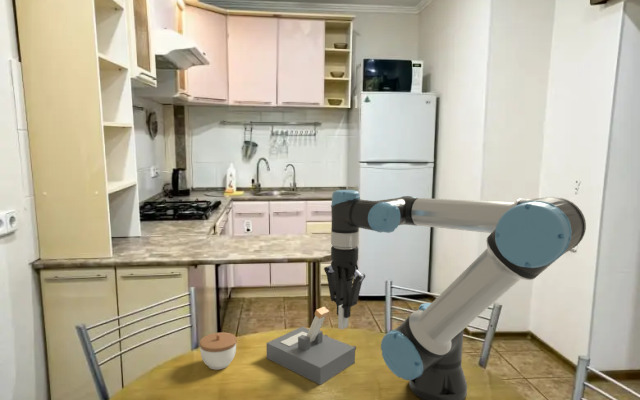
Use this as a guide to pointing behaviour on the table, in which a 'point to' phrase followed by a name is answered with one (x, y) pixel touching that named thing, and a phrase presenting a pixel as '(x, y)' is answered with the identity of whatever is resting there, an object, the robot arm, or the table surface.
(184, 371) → the table surface
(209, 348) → the lidded jar
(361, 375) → the table surface
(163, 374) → the table surface
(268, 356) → the breaker box
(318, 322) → the breaker lever
